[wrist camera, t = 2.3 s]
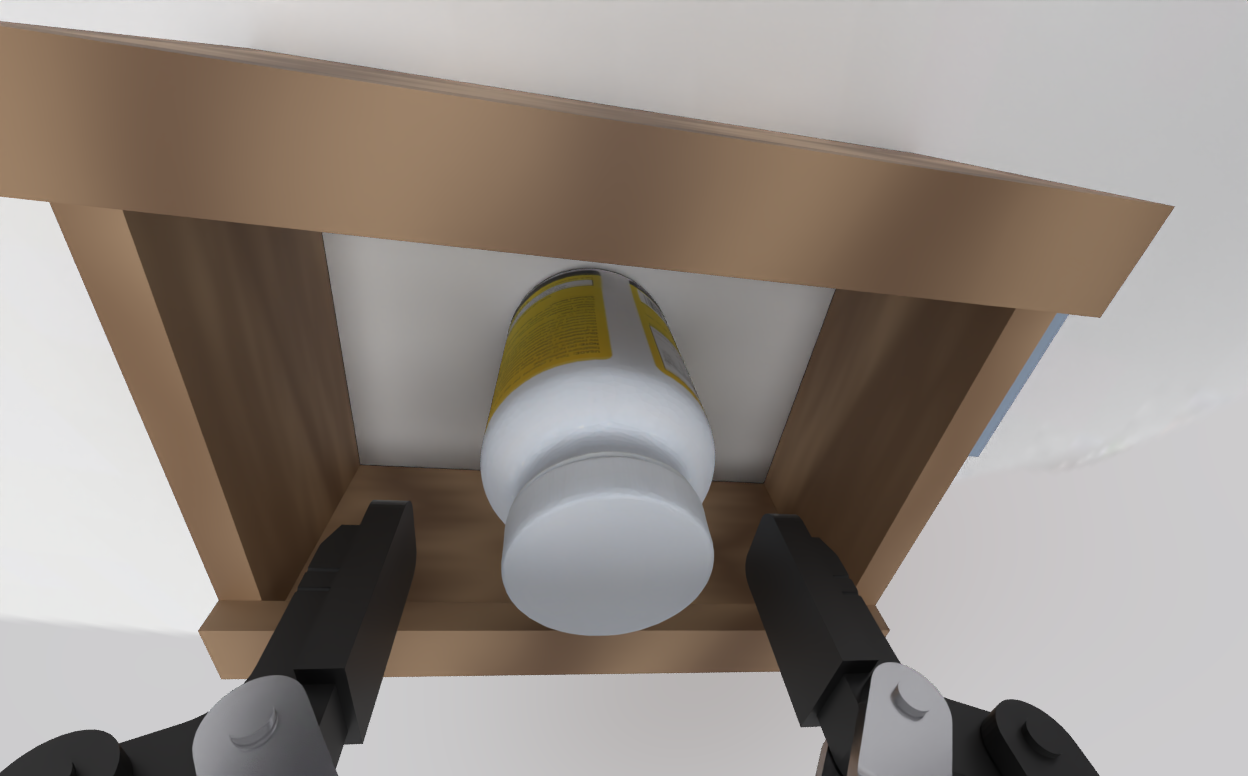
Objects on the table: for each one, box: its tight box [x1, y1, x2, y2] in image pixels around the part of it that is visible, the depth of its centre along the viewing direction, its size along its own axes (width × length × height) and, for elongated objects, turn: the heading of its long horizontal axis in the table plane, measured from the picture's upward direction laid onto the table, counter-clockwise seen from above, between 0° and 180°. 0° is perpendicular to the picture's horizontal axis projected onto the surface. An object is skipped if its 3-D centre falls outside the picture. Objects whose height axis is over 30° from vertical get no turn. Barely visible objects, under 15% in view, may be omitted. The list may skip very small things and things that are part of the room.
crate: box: [0, 21, 1175, 679], centre depth 17 cm, size 22×17×9 cm
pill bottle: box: [480, 269, 715, 636], centre depth 16 cm, size 6×6×12 cm
